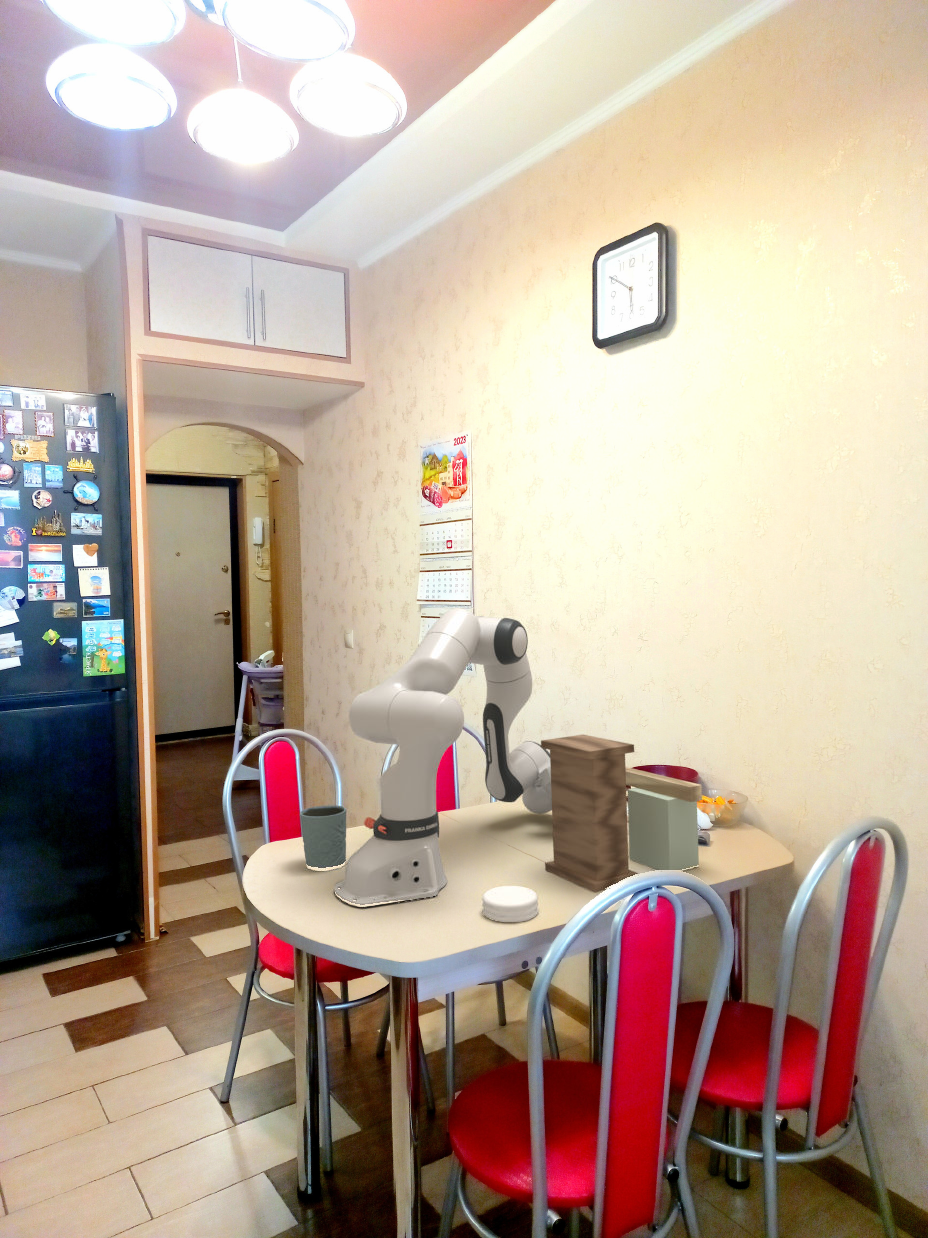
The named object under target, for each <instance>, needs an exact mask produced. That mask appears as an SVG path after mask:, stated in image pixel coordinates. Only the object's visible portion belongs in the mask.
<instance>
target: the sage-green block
mask: <svg viewBox="0 0 928 1238" xmlns="http://www.w3.org/2000/svg"><path fill="white" fill-rule="evenodd" d="M627 821H628V852H629V860H631V861H633V862H636V863H638V864H641V865H644V866H647V867H649V868H651V869H654V870H657V871H659V870H682V869H686V868H690V867H693V866H697V865H700V864H699V863H700V862H699V860H700V859H699V856H700V855H699V831H698V830H699V829H698V827H699V825H698V822H699V821H698V801H695V802H688V801H685V800H681V799H677V798H673V797H669V796H666V795H662V794H658V793H654V792H651V791H647V790H643V789H639V788H635V787H632V788H628V789H627ZM684 871H685V872H686V870H684ZM684 871H683V872H684Z"/></svg>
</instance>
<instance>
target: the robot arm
mask: <svg viewBox="0 0 928 1238" xmlns="http://www.w3.org/2000/svg"><path fill="white" fill-rule="evenodd" d="M528 639H529V638H528V634H527V630H526V628H525V626H524V625H523V624H522V623H521V622H520V620H517V619H513V618H509V617H503V618H500V617H493V616H482V615H478V616H477V615H475V614H474V613H473V612H471V611H470V610H467V609H466V608H459V607H455V608H451V609H448V610H447V611H445V612H444V613H443V614H442V615H441V616H440V617H439V618H438V619H436V621H435V622H434V623H433V625H432V626H431V628H429V629H428V631H427V633H426V634H425V636H424V637H423V639H422V640H421V641H420V643H419V645H418V646H417V648H416V649H415V651H414V652H413V653H412V655H411V656H410V658H409V659H408V660H407V661H406V662H405V663H404V664H403V665H402V666H401V667H400V668H399V669H398V670H396V671H395V672H394V673H393V674H392V675H390V676H389V677H388V678H386V679H385V680H383V681H382V682H381V683H379V684H378V685H376V686H374V687H373V688H370V689H368V690H367V691H364V692H361V693H359V694H358V695H356V696H355V697H354V698H353V700H352V702H351V705H350V708H349V712H348V720H349V725H350V728H351V730H352V732H353V733H354V735H356V736H357V737H358V738H361V739H364V740H367V741H370V742H371V743H372V742H373V743H376V744H383V745H385V744H386V745H395V746H396V745H397V746H399V752H398V753H399V754H398V757H397V760H396V762H395V763H394V764H392V765H391V766H389V767H388V768H386V770H384V772H383V773H382V775H381V777H380V779H379V789H380V790H379V791H380V792H379V793H380V795H379V796H380V815H379V816H378V818H376V819H374V818H372V817H370V816H368V817H366V818H365V819H364V820H363V824H364V825H363V826H365V828H368V829H369V830H373V835H372V836H371V837H370V838H369V839H367V841H366V842H365V843H364V844H363V845H361V846H360V847H359V848H358V849H357V851H355V852H354V853H353V854H352V855H351V856H350V857H349V858H348V859H347V861H346V865H345V871H344V872H345V873H344V874H345V875H344V880H342V881H339V882H337V883H335V885H334V886H333V892H334V891H335V892H336V894H337V895H338V896H340V897H341V898H342V899H344V900H347V901H349V902H351V903H355V904H360V905H365V904H373V903H380V902H389V901H398V900H410V899H417V898H424V899H427V898H426V897H430V898H434V897H433V896H435V897H436V895H437V896H438V894H439V891H440V890H441V889H442V888H444V887H445V886H446V885H447V882H448V879H447V876H446V873H445V870H444V866H443V862H442V857H441V851H440V844H439V838H440V821H439V819H440V818H439V811H437V792H436V791H437V773H438V768H439V766H440V762H441V760H442V757H443V756H444V754H445V752H447V750H448V748H449V747H450V746H452V745H453V744H454V743H456V741H458V738H460V736H461V734H462V731H463V729H464V725H465V715H464V711H463V707H462V705H461V704H460V702H459V701H458V700H457V699H456V697H454V696H450V695H448V694H450V693H451V692H452V691H453V690H454V689H455V687H456V685H457V684H458V682H459V680H460V678H461V677H462V675H463V673H464V672H465V670H466V668H467V666H468V664H473V665H474V664H475V665H476V664H477V665H480V666H481V665H482V666H483V672H484V676H485V683H486V699H485V704H484V708H483V711H482V712H483V713H482V728H483V731H482V732H483V737H484V738H483V739H484V741H483V742H484V751H485V775H484V782H485V787H486V790H487V792H488V794H489V795H490V796H491V797H493V798H494V799H495V800H497V801H499V802H502V803H515V802H516V801H517V800H518V799H520V797H521V799H522V803H523V805H524V807H525V809H527V810H528V811H529V812H532V813H533V814H540V815H541V814H546V813H549V812H552V794H551V765H550V751H548V749H544V748H541V743H538V742H536V741H530V740H525V741H523V742H522V743H521V744H519V745H518V746H517V747H515V748H514V749H513V750H512V751H510V744H509V733H510V729H511V726H512V724H513V723H514V721H515V719H516V717H517V716H518V714H519V713H520V712H521V711H522V709H523V708H524V707H525V705H526V704H527V703H528V701H529V700H530V697H531V695H532V692H533V676H532V672H531V665H530V663H529V658H528V655H527V649H528V643H529V642H528V641H529V640H528ZM338 888H340V889H338ZM353 900H356V901H353ZM417 900H418V899H417Z"/></svg>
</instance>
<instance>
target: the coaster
mask: <svg viewBox="0 0 928 1238" xmlns="http://www.w3.org/2000/svg"><path fill="white" fill-rule="evenodd" d="M538 898H539V897H538V894H537V893H536V892H535V891H534V890H533V889H531V888H528V887H525V886H519V885H502V886H496V887H493V888H490V889H488V890H487V891H486V892H485V893H483V894H482V898H481V899H482V900H481V901H482V905H481V906H482V908H483V909H482V913H483V916H484V915H485V916H486V917H485V916H484V917H485V918H487V917H488V918H491V919H493V920H497V921H501V922H518V923H523V921H524V922H527V921H530V920H532V919H534V918H535V917H536V916H537V915H538V913H539V908H538V906H539V903H538V900H539V899H538ZM488 918H487V919H488ZM501 922H500V923H501Z"/></svg>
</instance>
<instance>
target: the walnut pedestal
mask: <svg viewBox="0 0 928 1238" xmlns="http://www.w3.org/2000/svg"><path fill="white" fill-rule="evenodd" d="M540 745H541V748H544V749H546V750H547V751H548V750H549V753H550V765H551V794H552V811H551V817H552V818H551V819H552V821H551V823H552V844H553V845H552V848H553V849H552V851H553V860H552V861H548V862H545V863H544V867H545V868H544V869H545V871H546V872H548V873H551V874H552V875H555V876H558V877H559V878H562V879H564V880H566V881H568V882H571V883H573V884H575V885H577V886H579V887H582V888H584V889H587V890H588V891H591V892H593V893H596V892H597V893H598V892H601V891H605V890H606V889H605V888H607V887H609V886H611V885H613V884H616V883H618V882H619V881H621V880H623V879H625V878H627V877H630V876H633V875H635V874H638V875H639V873H638V872H637V871H634V870H631V869H629V867H630V866H629V865H630V864H629V831H628V799H627V785H626V768H625V767H626V754H631V753H635V744H632V743H629V742H622V741H617V740H612V739H608V738H603V737H598V736H592V735H588V734H577V735H570V736H564V737H555V738H548V739H542V740H540ZM604 889H605V890H604Z"/></svg>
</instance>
